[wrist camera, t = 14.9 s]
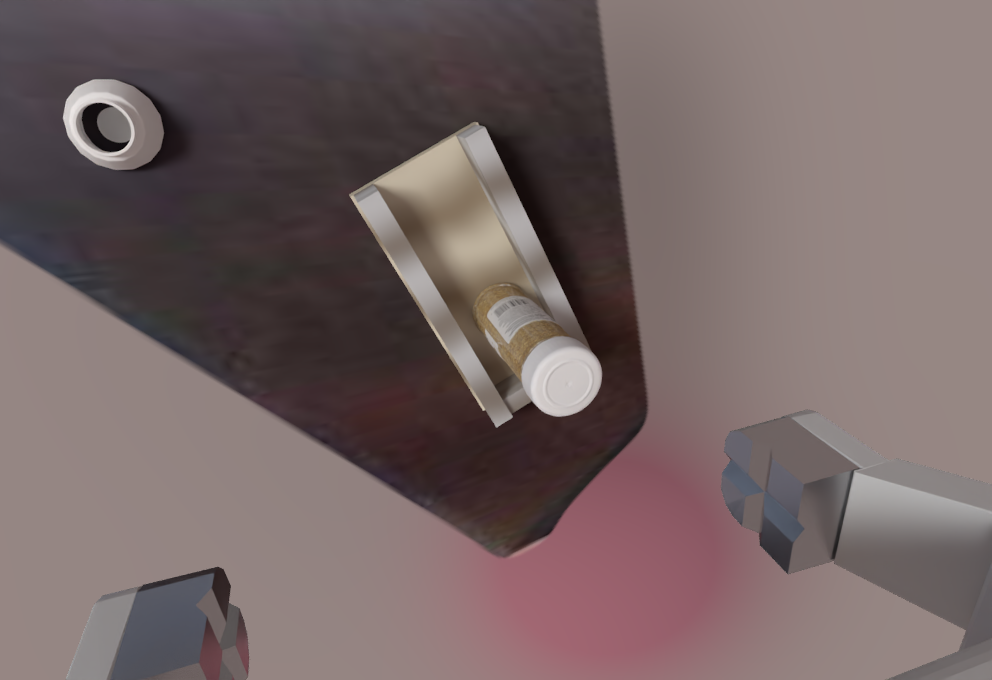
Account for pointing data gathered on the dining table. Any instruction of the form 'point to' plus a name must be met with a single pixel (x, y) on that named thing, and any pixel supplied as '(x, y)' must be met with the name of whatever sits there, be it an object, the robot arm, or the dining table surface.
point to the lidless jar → (115, 123)
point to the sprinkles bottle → (538, 350)
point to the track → (464, 253)
